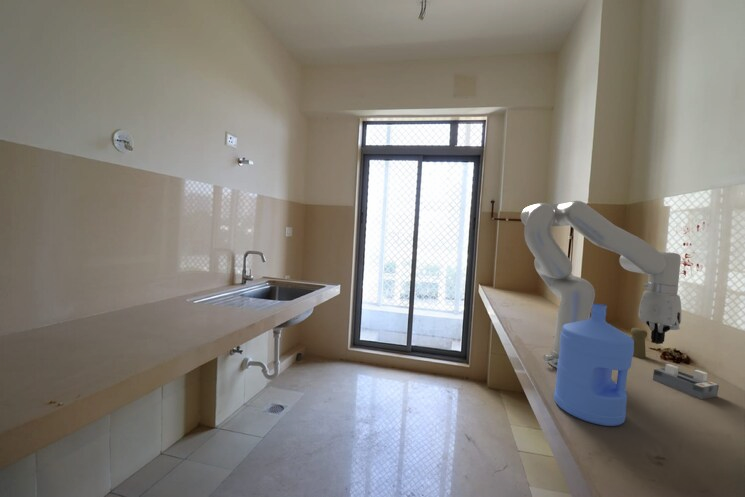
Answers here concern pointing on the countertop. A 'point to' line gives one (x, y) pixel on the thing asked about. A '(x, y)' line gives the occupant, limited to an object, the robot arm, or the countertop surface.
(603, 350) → the water jug
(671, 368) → the inner tab
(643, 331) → the cork
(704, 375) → the outer tab
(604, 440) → the countertop surface
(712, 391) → the switch block
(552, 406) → the countertop surface
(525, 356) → the countertop surface
